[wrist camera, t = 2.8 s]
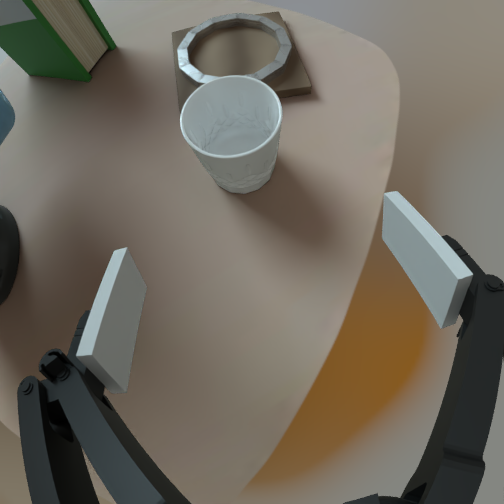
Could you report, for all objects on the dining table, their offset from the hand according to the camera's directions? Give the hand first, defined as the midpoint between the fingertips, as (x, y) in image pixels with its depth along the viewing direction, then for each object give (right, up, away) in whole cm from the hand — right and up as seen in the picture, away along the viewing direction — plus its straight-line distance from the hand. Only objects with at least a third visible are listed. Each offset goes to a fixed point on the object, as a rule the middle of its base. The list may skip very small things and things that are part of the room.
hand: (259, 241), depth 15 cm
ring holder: (-2, +24, +19) cm, 30 cm away
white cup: (-1, +9, +17) cm, 19 cm away
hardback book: (-30, +31, +22) cm, 48 cm away
